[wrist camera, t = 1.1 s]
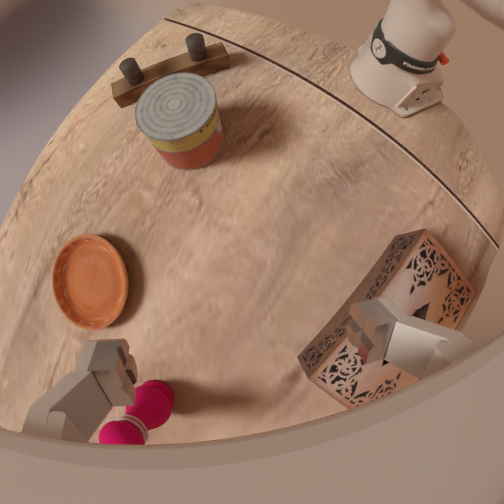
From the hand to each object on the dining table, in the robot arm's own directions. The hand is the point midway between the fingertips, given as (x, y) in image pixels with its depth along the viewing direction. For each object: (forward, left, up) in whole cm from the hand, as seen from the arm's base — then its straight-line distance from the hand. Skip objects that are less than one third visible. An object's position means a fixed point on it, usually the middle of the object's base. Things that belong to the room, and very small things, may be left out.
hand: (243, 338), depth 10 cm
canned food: (+2, -26, -35) cm, 43 cm away
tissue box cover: (-18, +13, -35) cm, 41 cm away
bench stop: (+2, -41, -34) cm, 53 cm away
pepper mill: (+22, +13, -35) cm, 43 cm away
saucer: (+26, -9, -35) cm, 44 cm away
